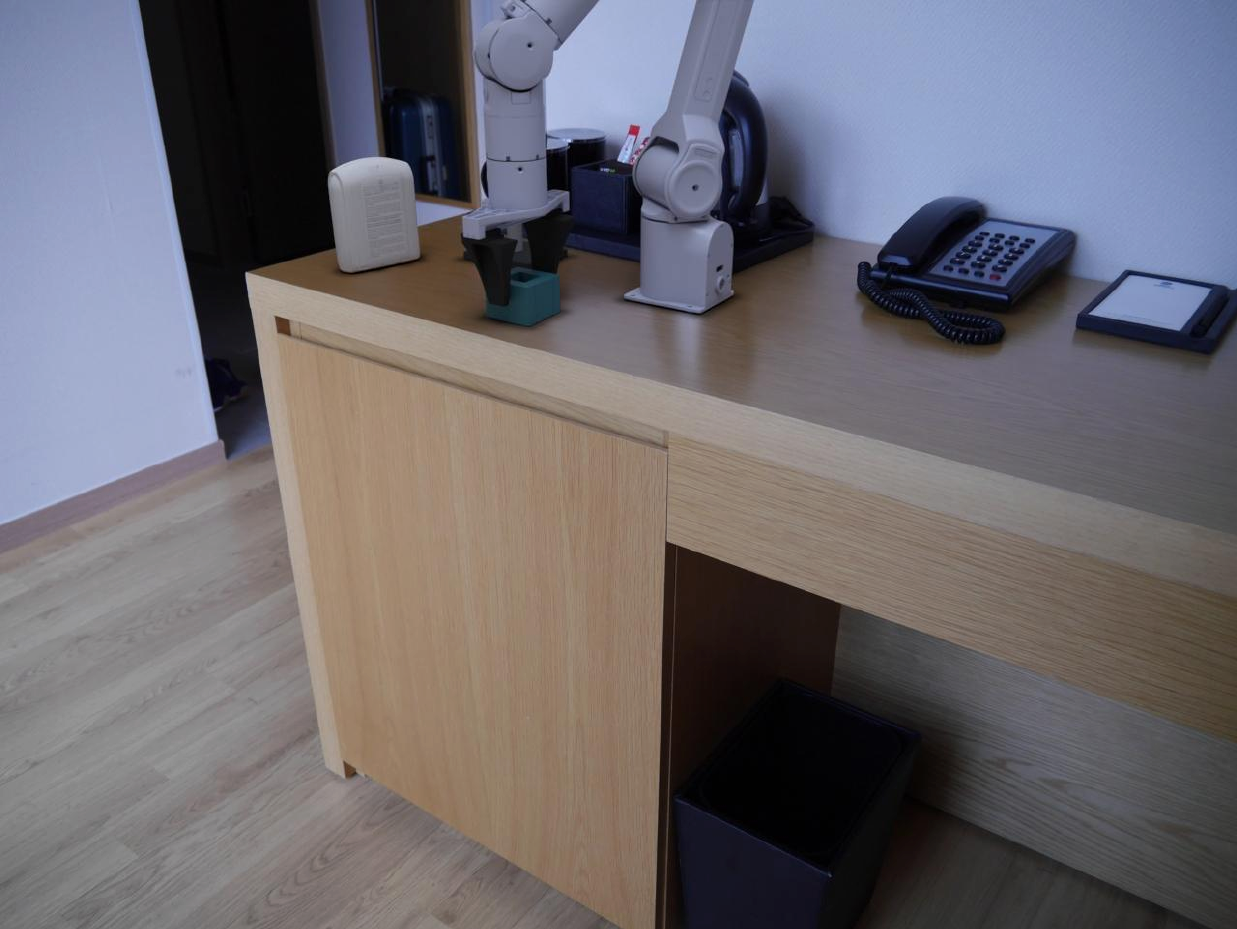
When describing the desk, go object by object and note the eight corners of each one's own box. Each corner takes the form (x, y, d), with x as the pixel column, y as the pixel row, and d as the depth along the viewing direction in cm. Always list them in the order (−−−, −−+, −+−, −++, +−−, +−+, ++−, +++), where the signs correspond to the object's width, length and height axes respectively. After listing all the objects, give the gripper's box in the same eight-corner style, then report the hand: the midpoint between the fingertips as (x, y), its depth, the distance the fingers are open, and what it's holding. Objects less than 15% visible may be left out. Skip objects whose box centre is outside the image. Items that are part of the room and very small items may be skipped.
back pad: (567, 256, 119) (566, 207, 116) (528, 272, 113) (526, 220, 110) (504, 245, 123) (501, 197, 121) (463, 259, 117) (459, 210, 115)
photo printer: (407, 252, 120) (396, 150, 114) (426, 259, 117) (416, 154, 112) (333, 269, 114) (317, 161, 108) (351, 276, 111) (337, 166, 105)
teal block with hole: (560, 312, 100) (559, 274, 98) (528, 326, 96) (527, 287, 94) (519, 303, 102) (517, 266, 101) (486, 317, 98) (484, 279, 96)
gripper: (529, 142, 99) (534, 271, 105) (433, 164, 88) (444, 306, 95) (585, 149, 96) (587, 281, 102) (492, 172, 85) (500, 319, 91)
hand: (522, 294), depth 98 cm, fingers open, 7 cm apart
